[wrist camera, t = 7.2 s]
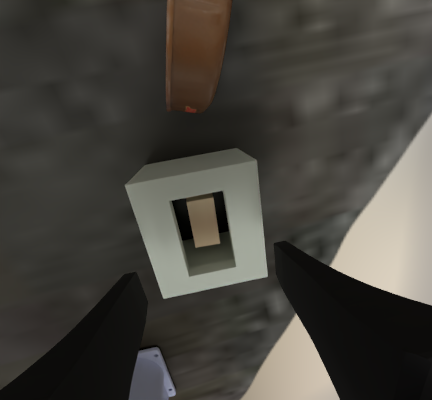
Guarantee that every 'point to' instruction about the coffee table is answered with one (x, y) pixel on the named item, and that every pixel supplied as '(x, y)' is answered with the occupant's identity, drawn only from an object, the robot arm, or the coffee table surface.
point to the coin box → (185, 250)
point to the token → (203, 220)
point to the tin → (195, 52)
